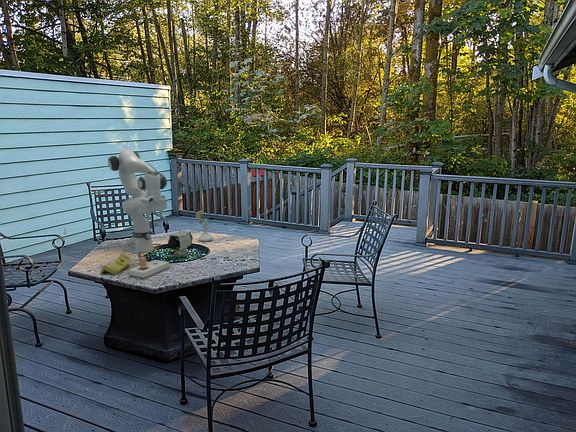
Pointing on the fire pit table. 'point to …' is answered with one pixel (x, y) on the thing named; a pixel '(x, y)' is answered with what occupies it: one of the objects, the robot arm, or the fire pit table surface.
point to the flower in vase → (205, 235)
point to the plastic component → (117, 265)
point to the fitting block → (149, 269)
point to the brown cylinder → (142, 263)
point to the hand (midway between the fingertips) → (154, 218)
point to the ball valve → (180, 242)
